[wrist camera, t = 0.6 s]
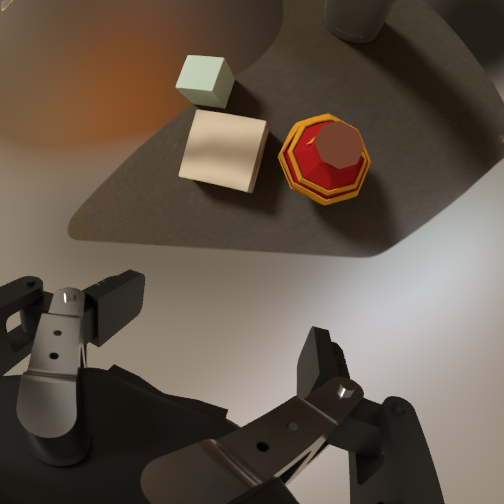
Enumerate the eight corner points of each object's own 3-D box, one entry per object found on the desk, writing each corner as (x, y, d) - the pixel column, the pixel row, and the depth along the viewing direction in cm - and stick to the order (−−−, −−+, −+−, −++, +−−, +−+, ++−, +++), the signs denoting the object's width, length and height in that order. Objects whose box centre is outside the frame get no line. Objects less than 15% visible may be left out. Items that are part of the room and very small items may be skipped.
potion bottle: (356, 134, 33) (394, 98, 18) (354, 208, 35) (394, 213, 20) (281, 127, 34) (275, 83, 20) (277, 201, 36) (270, 202, 22)
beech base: (208, 119, 35) (196, 109, 31) (269, 131, 35) (266, 121, 30) (192, 179, 37) (178, 176, 32) (252, 193, 37) (247, 192, 32)
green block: (203, 75, 34) (188, 55, 27) (234, 79, 34) (224, 57, 27) (193, 104, 35) (175, 87, 28) (225, 108, 35) (212, 91, 28)
